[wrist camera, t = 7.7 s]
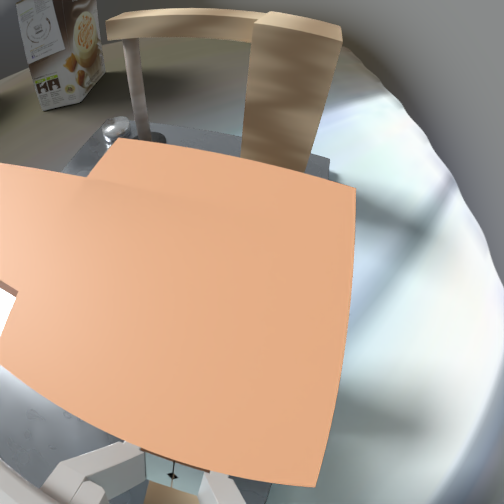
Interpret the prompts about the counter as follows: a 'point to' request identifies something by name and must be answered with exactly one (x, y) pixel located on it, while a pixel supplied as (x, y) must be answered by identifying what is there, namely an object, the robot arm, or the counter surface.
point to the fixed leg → (257, 94)
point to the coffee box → (61, 48)
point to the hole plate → (51, 415)
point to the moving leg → (183, 303)
